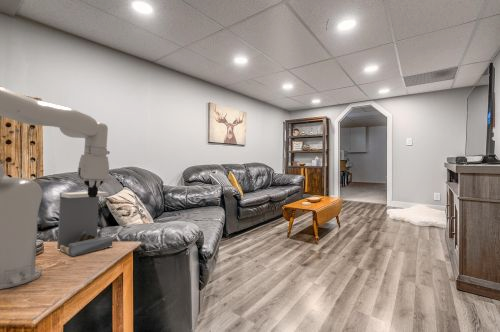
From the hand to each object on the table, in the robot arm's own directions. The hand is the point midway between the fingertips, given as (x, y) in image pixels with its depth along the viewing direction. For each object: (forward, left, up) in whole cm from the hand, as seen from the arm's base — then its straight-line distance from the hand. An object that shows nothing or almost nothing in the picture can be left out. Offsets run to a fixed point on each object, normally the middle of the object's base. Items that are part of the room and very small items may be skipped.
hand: (92, 196), depth 92 cm
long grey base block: (+10, -3, -23) cm, 26 cm away
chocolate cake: (+11, -3, -24) cm, 27 cm away
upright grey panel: (+14, -3, -24) cm, 28 cm away
